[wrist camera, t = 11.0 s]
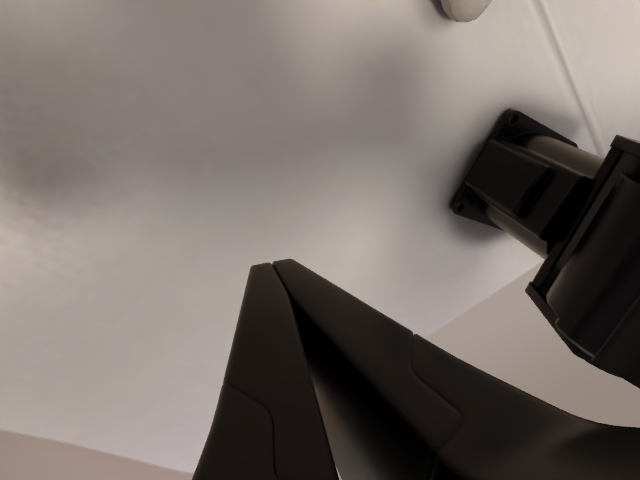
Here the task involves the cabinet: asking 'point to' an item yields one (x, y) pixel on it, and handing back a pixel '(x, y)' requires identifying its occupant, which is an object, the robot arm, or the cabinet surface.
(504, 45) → the cabinet surface
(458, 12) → the game controller
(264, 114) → the cabinet surface
